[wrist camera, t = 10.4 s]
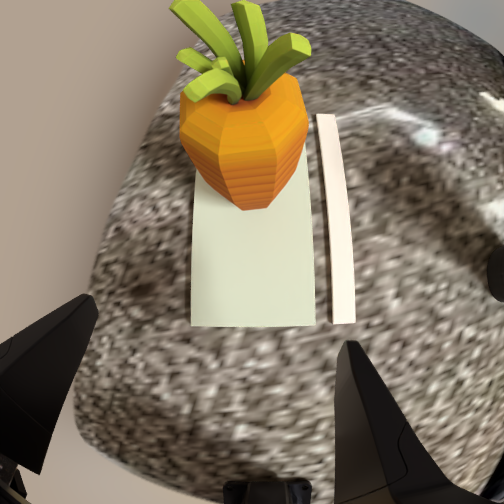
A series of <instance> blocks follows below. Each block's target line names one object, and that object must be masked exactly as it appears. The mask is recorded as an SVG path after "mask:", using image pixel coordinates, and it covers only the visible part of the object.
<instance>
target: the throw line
mask: <svg viewBox="0 0 504 504" xmlns="http://www.w3.org/2000/svg"><path fill="white" fill-rule="evenodd" d="M316 121H317V127H318V134H319V142H320V149H321V157H322V166H323V174H324V184H325V194H326V204H327V216H328V229H329V244H330V261H331V285H332V324H346V323H355V287H354V266H353V251H352V238H351V226H350V216H349V207H348V198H347V190H346V182H345V174H344V167H343V161H342V154H341V148H340V142H339V136H338V130H337V125H336V120H335V115H331V114H316Z"/></svg>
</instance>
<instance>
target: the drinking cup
mask: <svg viewBox="0 0 504 504" xmlns="http://www.w3.org/2000/svg"><path fill="white" fill-rule="evenodd" d="M487 277H488V283H489V287H490V290H491V292H492V294H493V296H494V297H495V298H496V299H497V300H498V301H500V302H504V246H502V247H500V248H498V249H496V250H495V251H494V252H493V253H492V255H491V257H490V259H489V263H488V269H487Z"/></svg>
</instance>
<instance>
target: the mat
mask: <svg viewBox="0 0 504 504" xmlns="http://www.w3.org/2000/svg"><path fill="white" fill-rule="evenodd" d="M313 325H315V281H314V255H313V236H312V219H311V204H310V191H309V179H308V168H307V158H306V148H305V143H304V146H303V150H302V153H301V156H300V159H299V162H298V165H297V168H296V171H295V172H294V174H293V175H292V177H291V178H290V180H289V181H288V183H287V184H286V185H285V187H284V188H283V189H282V190H281V192H280V193H279V194H278V195H277V196H276V198H275V199H274V200H273V201H272V202H271V204H270V205H269V206H268V207H267V208H263V209H255V210H247V211H242V210H241V209H239V208H238V207H237V206H235V205H234V204H233V203H231V202H230V201H229V200H227V199H226V198H225V197H223V196H222V195H221V194H219V193H218V192H217V191H215V190H214V189H213V188H212V187H211V186H210V185H209V184H208V183H206V182H205V180H204V179H203V177H202V176H201V174H200V173H199V171H198V170H197V168H196V179H195V194H194V212H193V233H192V263H191V326H209V327H284V326H313Z"/></svg>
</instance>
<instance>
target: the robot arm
mask: <svg viewBox="0 0 504 504" xmlns="http://www.w3.org/2000/svg"><path fill="white" fill-rule="evenodd" d="M97 318H98V309H97V306H96V303H95V301H94V298H93V297H92V296H91V295H88V294H81V295H79V296H78V297H76V298H74V299H72V300H71V301H69V302H67V303H66V304H64V305H62V306H61V307H59V308H57V309H56V310H54V311H52V312H51V313H49V314H47V315H46V316H44V317H43V318H41V319H39V320H38V321H36V322H34V323H33V324H31V325H30V326H28V327H26V328H25V329H23V330H22V331H20V332H19V333H17V334H15V335H14V336H13V337H11V338H9V339H8V340H6V341H5V342H3V343H1V344H0V504H31V503H30V502H28V501H27V500H26V496H27V492H26V490H25V487H24V484H23V481H22V478H21V475H20V471H19V470H18V469H17V466H18V464H19V465H21V466H23V467H25V468H27V469H29V470H30V471H32V472H34V473H36V474H38V475H40V473H41V470H42V466H43V463H44V459H45V456H46V453H47V450H48V447H49V443H50V440H51V437H52V434H53V431H54V428H55V425H56V422H57V420H58V417H59V414H60V412H61V409H62V406H63V404H64V401H65V399H66V396H67V394H68V391H69V388H70V386H71V384H72V381H73V379H74V377H75V374H76V372H77V370H78V367H79V365H80V363H81V361H82V358H83V356H84V354H85V351H86V349H87V346H88V344H89V341H90V338H91V335H92V332H93V329H94V327H95V324H96V321H97ZM334 411H335V493H334V504H504V502H502V503H497V502H493V501H491V500H488V499H486V498H483V497H481V496H478V495H476V494H474V493H471V492H469V491H467V490H465V489H463V488H460V487H458V486H456V485H455V484H453V483H452V482H451V481H450V480H449V479H448V478H447V477H446V476H445V475H444V474H443V472H442V471H441V469H440V468H439V467H438V465H437V464H436V463H435V461H434V460H433V459H432V457H431V456H430V455H429V453H428V452H427V451H426V449H425V448H424V446H423V445H422V443H421V442H420V441H419V439H418V437H417V436H416V434H415V433H414V431H413V429H412V428H411V426H410V424H409V423H408V422H406V421H407V419H406V418H405V416H404V414H403V413H402V411H401V409H400V408H399V406H398V404H397V403H396V401H395V399H394V398H393V396H392V395H391V393H390V391H389V390H388V388H387V386H386V385H385V383H384V382H383V380H382V378H381V377H380V375H379V374H378V372H377V370H376V369H375V367H374V366H373V364H372V362H371V361H370V359H369V358H368V356H367V355H366V353H365V351H364V350H363V348H362V347H361V345H360V344H359V342H358V341H356V340H345V341H344V343H343V345H342V348H341V350H340V352H339V354H338V357H337V369H336V384H335V397H334ZM228 486H231V487H233V488H228ZM303 486H307V487H306V488H302V487H303ZM311 492H312V485H311V483H310V482H309V481H294V482H235V481H227V482H225V483H224V486H223V495H224V504H310V501H311Z"/></svg>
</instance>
